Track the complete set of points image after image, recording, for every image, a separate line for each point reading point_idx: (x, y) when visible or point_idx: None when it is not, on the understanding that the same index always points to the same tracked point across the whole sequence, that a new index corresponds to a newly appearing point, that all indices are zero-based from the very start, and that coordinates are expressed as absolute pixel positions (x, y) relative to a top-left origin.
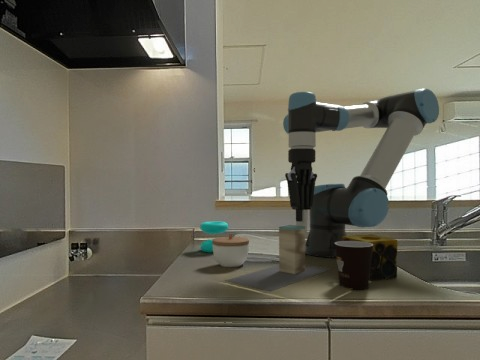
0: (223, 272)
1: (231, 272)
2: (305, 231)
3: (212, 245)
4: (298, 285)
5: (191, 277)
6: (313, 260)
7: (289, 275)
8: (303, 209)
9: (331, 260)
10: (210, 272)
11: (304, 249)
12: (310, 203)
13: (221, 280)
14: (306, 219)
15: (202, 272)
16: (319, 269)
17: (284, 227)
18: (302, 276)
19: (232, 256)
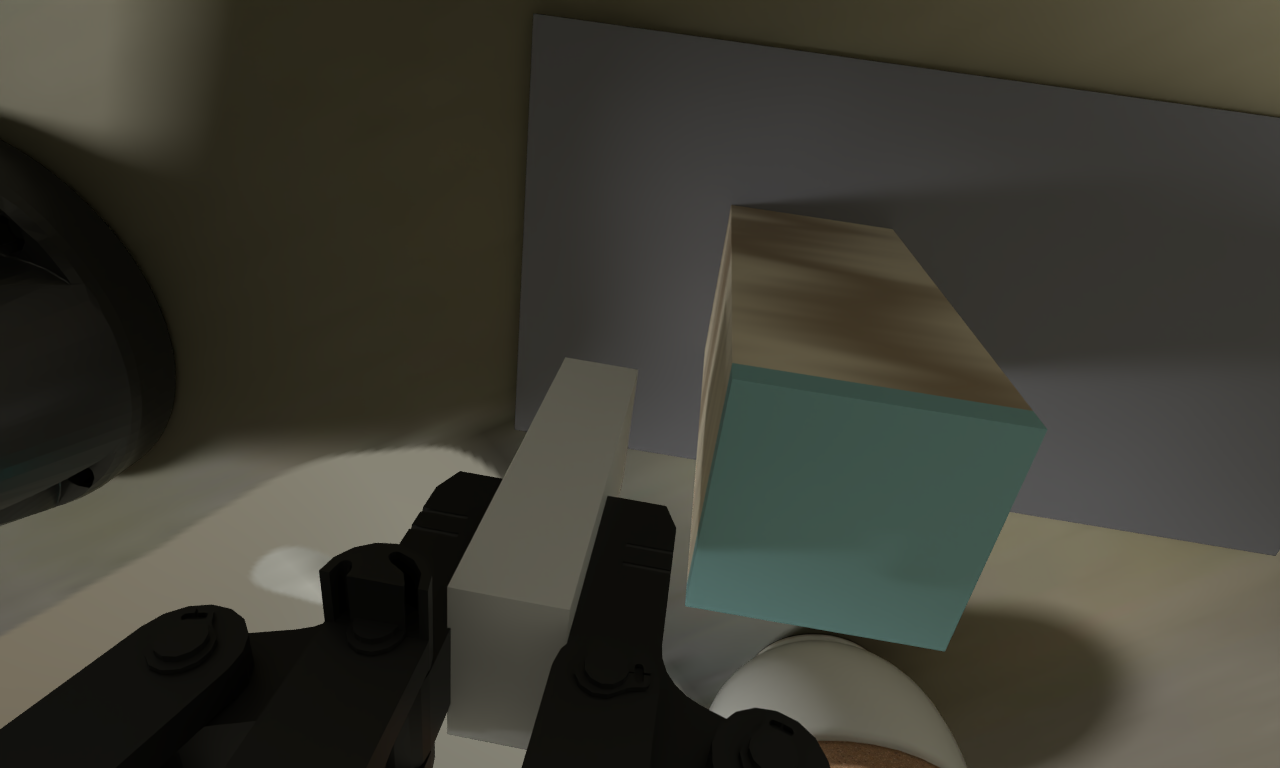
0: (1003, 651)
1: (983, 617)
2: (605, 376)
3: None
4: (1218, 54)
5: (1197, 731)
6: (306, 310)
7: (961, 246)
8: (446, 661)
9: (192, 178)
10: (1033, 704)
11: (743, 263)
12: (192, 683)
13: (1222, 581)
14: (535, 467)
15: (1051, 734)
16: (625, 110)
17: (975, 577)
18: (953, 135)
19: (939, 714)
